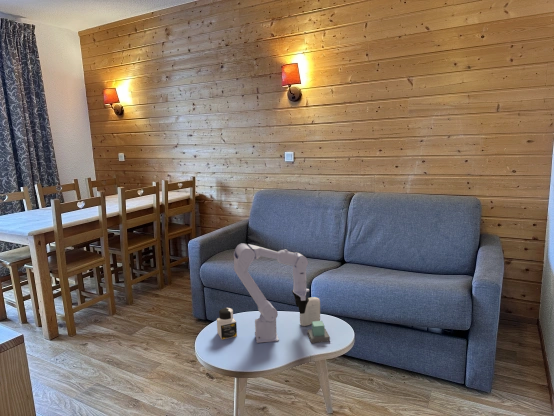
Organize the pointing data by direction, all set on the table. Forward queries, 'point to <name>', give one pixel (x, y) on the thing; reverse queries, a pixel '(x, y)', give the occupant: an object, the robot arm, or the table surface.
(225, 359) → the table surface
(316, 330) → the cube
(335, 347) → the table surface
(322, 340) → the base
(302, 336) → the table surface
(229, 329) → the medicine bottle
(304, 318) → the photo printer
